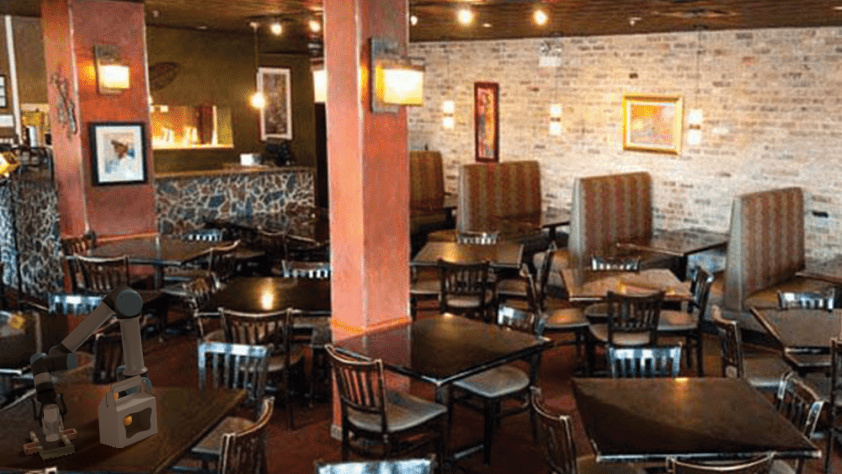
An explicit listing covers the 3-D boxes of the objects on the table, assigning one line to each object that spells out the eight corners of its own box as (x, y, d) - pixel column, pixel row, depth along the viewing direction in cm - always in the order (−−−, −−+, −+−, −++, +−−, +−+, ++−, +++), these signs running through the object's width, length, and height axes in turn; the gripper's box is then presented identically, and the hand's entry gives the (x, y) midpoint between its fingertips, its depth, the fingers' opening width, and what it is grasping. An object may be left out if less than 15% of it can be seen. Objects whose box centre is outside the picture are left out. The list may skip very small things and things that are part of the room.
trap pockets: (20, 444, 377) (20, 439, 377) (74, 433, 390) (74, 428, 390) (26, 455, 366) (25, 449, 365) (81, 443, 378) (81, 437, 378)
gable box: (119, 449, 371) (115, 389, 367) (99, 443, 378) (95, 384, 374) (158, 432, 390) (154, 375, 386) (138, 427, 397) (135, 370, 393)
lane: (30, 437, 386) (29, 429, 385) (60, 430, 393) (59, 423, 392) (42, 460, 360) (42, 452, 360) (74, 453, 368) (74, 445, 367)
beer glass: (55, 443, 366) (52, 410, 363) (41, 441, 367) (38, 409, 364) (65, 436, 372) (62, 404, 370) (51, 435, 374) (48, 403, 371)
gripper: (66, 385, 384) (76, 430, 374) (20, 393, 374) (29, 440, 363) (67, 377, 379) (78, 422, 368) (21, 385, 369) (30, 432, 358)
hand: (53, 431), depth 366 cm, fingers closed on beer glass, 6 cm apart
